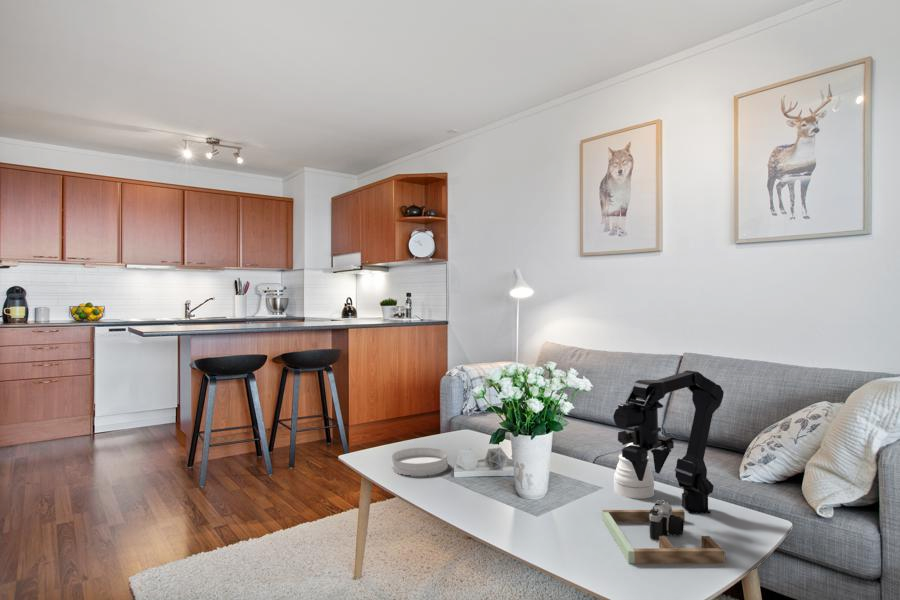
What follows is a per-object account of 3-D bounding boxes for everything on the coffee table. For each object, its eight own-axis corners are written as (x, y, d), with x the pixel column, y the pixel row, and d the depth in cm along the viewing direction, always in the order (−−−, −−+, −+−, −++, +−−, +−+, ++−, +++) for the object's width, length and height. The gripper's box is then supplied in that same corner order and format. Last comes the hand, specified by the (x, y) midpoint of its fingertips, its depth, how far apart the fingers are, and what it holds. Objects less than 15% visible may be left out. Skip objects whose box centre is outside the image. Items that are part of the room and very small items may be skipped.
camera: (678, 547, 143) (678, 512, 143) (647, 540, 147) (647, 506, 147) (685, 532, 154) (686, 500, 154) (656, 526, 158) (657, 494, 158)
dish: (382, 474, 206) (382, 461, 206) (403, 457, 227) (403, 445, 227) (437, 479, 200) (437, 465, 200) (454, 461, 221) (454, 449, 221)
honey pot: (659, 490, 184) (658, 437, 184) (646, 501, 174) (645, 445, 174) (622, 482, 192) (622, 431, 192) (607, 492, 182) (607, 439, 182)
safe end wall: (607, 520, 160) (607, 510, 160) (634, 563, 134) (634, 551, 134) (602, 520, 160) (602, 510, 160) (628, 563, 134) (628, 551, 134)
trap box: (682, 519, 160) (682, 509, 160) (724, 563, 134) (724, 551, 134) (602, 520, 160) (602, 510, 160) (628, 563, 134) (628, 551, 134)
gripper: (640, 414, 171) (641, 463, 171) (605, 425, 159) (606, 477, 159) (673, 420, 162) (675, 471, 163) (639, 431, 151) (641, 487, 151)
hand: (649, 476), depth 159 cm, fingers open, 9 cm apart
